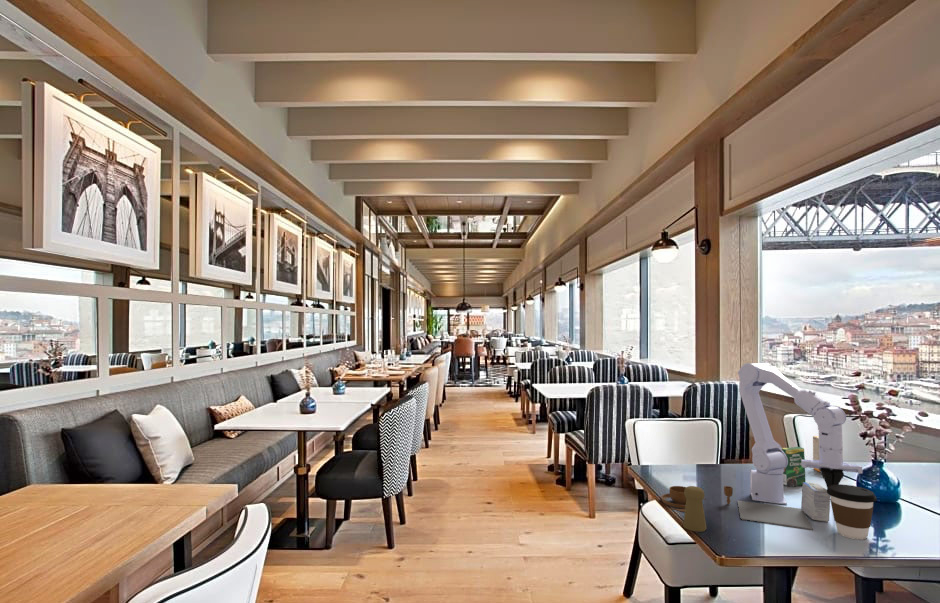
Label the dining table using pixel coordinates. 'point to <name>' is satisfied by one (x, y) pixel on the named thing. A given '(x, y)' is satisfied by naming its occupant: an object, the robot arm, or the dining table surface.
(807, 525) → the rubber mat
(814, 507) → the medicine box
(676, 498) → the place setting
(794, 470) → the coffee box
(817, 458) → the supplement box
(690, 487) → the cork
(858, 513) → the coffee cup
